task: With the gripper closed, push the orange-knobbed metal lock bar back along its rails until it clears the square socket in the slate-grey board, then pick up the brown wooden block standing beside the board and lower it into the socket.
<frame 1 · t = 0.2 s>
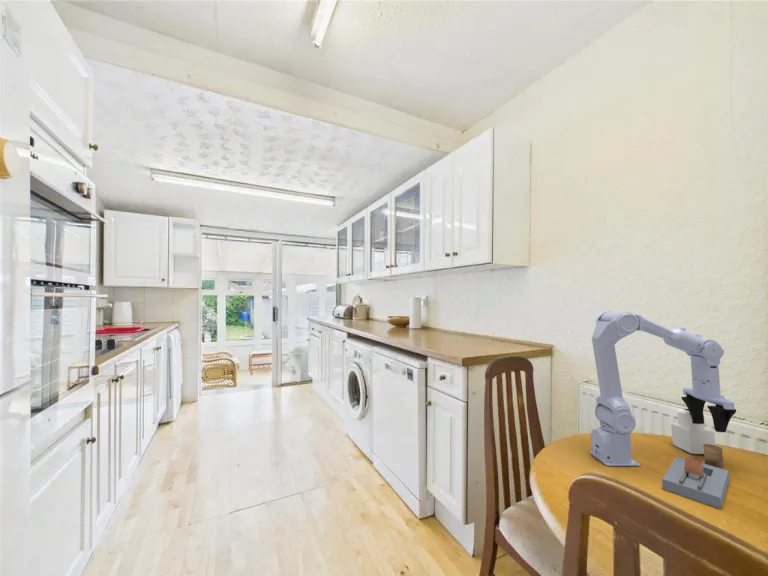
hand: (708, 426, 92), 10 cm above the table, tool pointing down, fingers open, 7 cm apart
brown wooden block: (714, 471, 86), on the table
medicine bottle: (694, 450, 98), on the table, touching gripper
lock bar: (695, 464, 81), point 5 cm above the table, slide at 4.5 cm
mount board: (696, 484, 80), on the table
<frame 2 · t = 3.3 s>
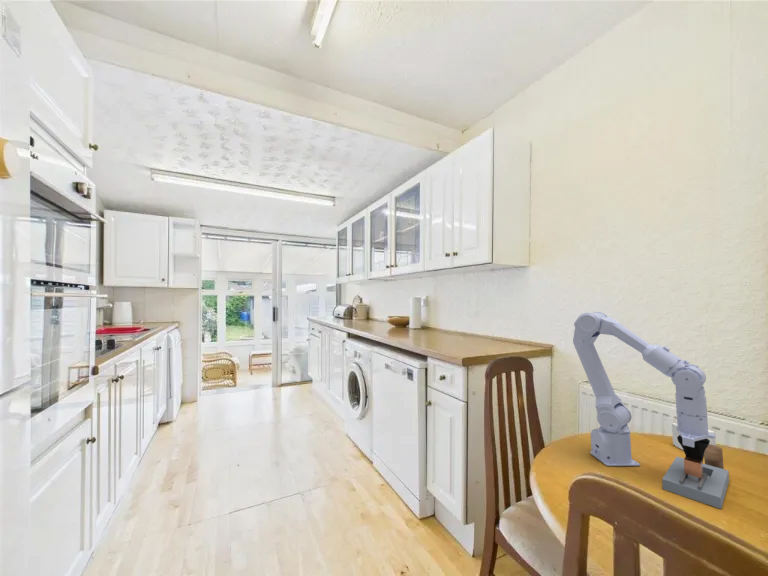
hand: (695, 467, 80), 4 cm above the table, tool pointing down, fingers closed
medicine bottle: (694, 450, 98), on the table
lock bar: (695, 466, 80), point 5 cm above the table, slide at 3.5 cm, touching gripper
everything else where it was.
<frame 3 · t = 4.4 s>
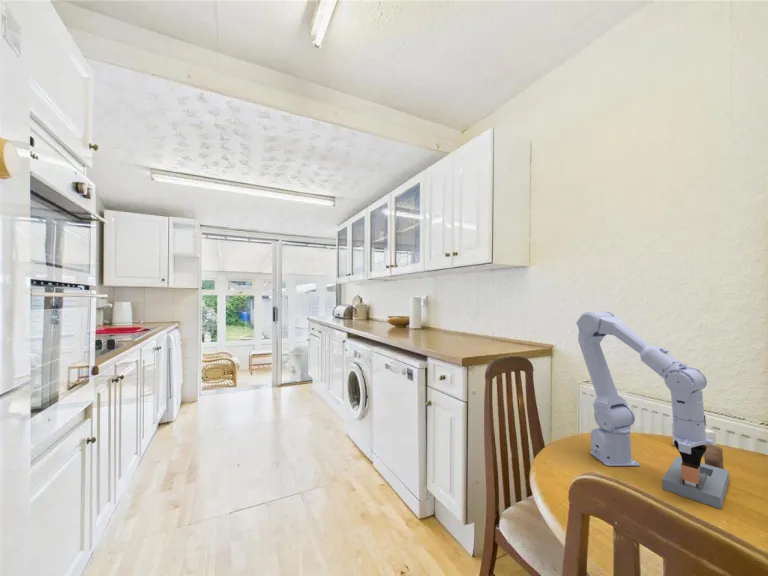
hand: (692, 473, 77), 4 cm above the table, tool pointing down, fingers closed, pressing on lock bar
lock bar: (692, 471, 77), point 5 cm above the table, slide at -0.5 cm, touching gripper
everything else where it was.
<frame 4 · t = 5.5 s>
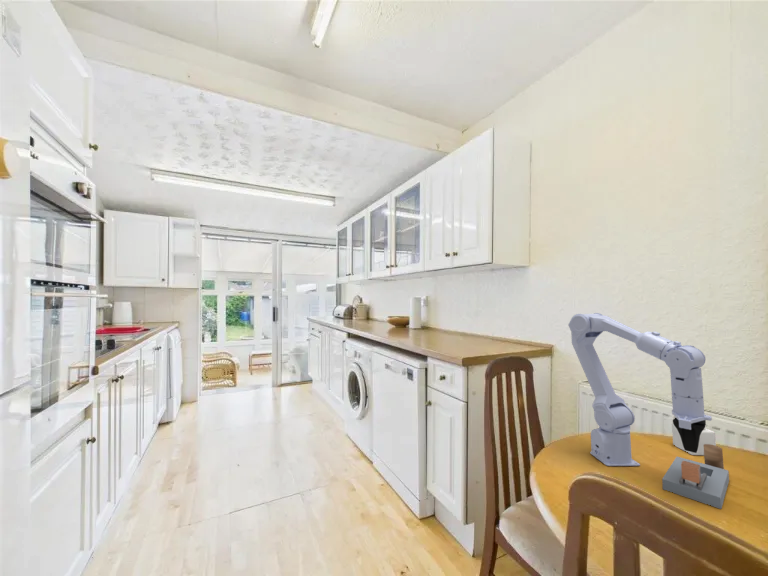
hand: (690, 450, 77), 10 cm above the table, tool pointing down, fingers closed
lock bar: (692, 470, 78), point 5 cm above the table, slide at 0.0 cm
everything else where it was.
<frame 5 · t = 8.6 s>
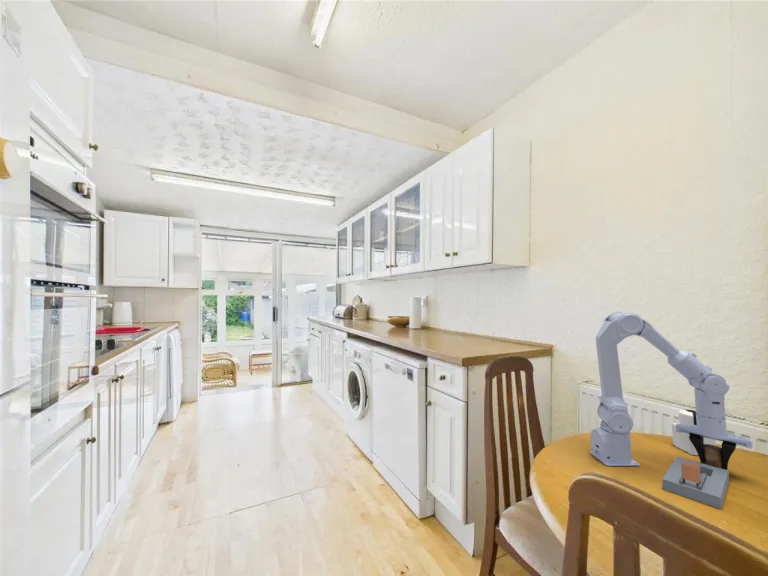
hand: (714, 465, 86), 1 cm above the table, tool pointing down, fingers closed on brown wooden block, 4 cm apart
brown wooden block: (714, 471, 86), on the table, touching gripper
everything else where it was.
when the fingers open (3 cm above the table, at t = 11.4 s): brown wooden block drops 2 cm, resting in mount board.
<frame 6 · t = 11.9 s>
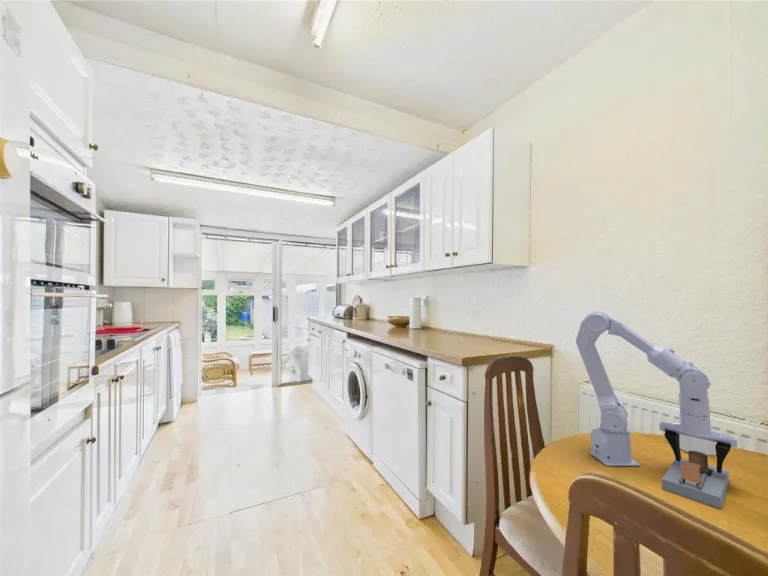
hand: (698, 465, 83), 3 cm above the table, tool pointing down, fingers open, 7 cm apart
brown wooden block: (699, 479, 82), resting in mount board
everything else where it was.
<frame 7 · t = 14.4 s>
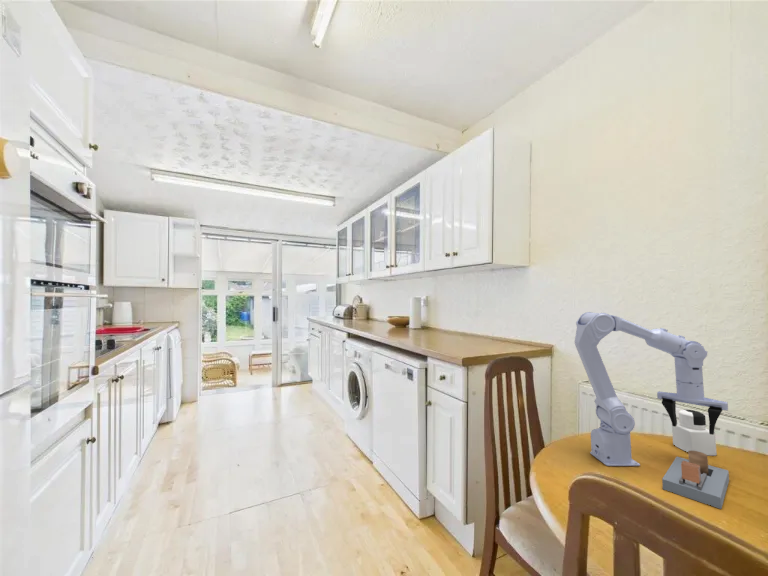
hand: (692, 429, 90), 10 cm above the table, tool pointing down, fingers open, 7 cm apart
nothing on the table moved.
at the end: lock bar slide at 0.0 cm; brown wooden block 0.1 cm from the target spot on the mount board, point 0.0 cm above the mount board's base; brown wooden block tilted 0° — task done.
